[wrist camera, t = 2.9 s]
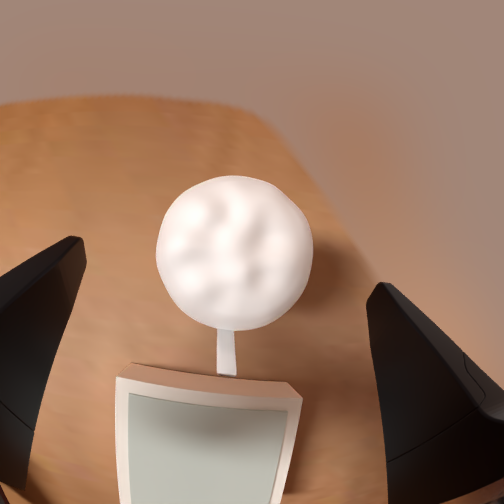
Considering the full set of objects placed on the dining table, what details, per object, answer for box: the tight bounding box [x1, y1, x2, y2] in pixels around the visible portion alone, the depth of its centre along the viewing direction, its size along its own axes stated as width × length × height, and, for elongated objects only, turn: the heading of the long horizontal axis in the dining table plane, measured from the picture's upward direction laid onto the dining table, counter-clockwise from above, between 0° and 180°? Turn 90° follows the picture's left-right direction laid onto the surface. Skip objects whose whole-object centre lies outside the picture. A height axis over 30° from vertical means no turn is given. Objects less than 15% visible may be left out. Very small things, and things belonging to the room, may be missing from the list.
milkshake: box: [156, 176, 313, 377], centre depth 11 cm, size 5×5×10 cm
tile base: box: [115, 363, 303, 504], centre depth 13 cm, size 9×9×3 cm
